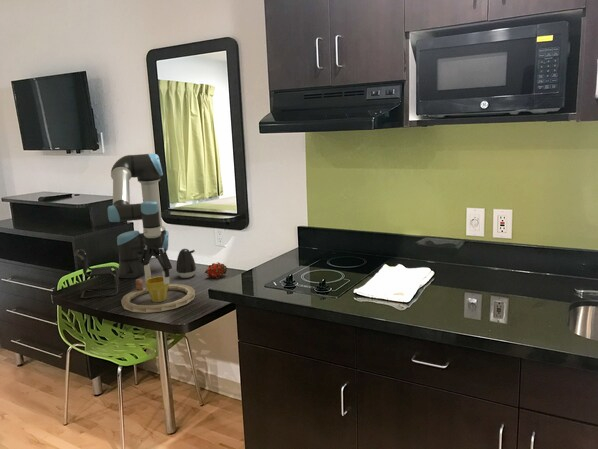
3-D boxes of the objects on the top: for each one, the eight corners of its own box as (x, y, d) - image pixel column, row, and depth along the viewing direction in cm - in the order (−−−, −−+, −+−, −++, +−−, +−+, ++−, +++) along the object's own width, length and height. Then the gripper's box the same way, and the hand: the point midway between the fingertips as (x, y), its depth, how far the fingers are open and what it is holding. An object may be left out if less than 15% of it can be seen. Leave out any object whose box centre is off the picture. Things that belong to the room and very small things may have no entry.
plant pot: (146, 298, 228) (143, 278, 226) (168, 294, 232) (166, 274, 230) (148, 305, 218) (146, 284, 216) (172, 301, 222) (170, 280, 220)
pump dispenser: (194, 279, 253) (192, 250, 250) (174, 279, 254) (172, 251, 251) (199, 273, 263) (196, 246, 260) (179, 274, 264) (177, 246, 261)
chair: (82, 291, 241) (76, 248, 236) (119, 287, 246) (114, 244, 241) (79, 300, 229) (73, 255, 224) (118, 295, 234) (113, 250, 229)
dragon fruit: (229, 278, 257) (207, 285, 253) (225, 266, 262) (203, 272, 259) (228, 269, 250) (205, 275, 247) (224, 256, 256) (201, 263, 252)
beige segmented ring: (108, 303, 222) (106, 288, 221) (165, 283, 247) (164, 270, 245) (151, 317, 203) (149, 301, 201) (209, 295, 227) (207, 280, 226)
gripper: (129, 234, 223) (134, 278, 228) (163, 241, 208) (167, 288, 213) (143, 230, 229) (147, 274, 234) (177, 237, 214) (181, 283, 219)
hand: (157, 281), depth 223 cm, fingers open, 13 cm apart
